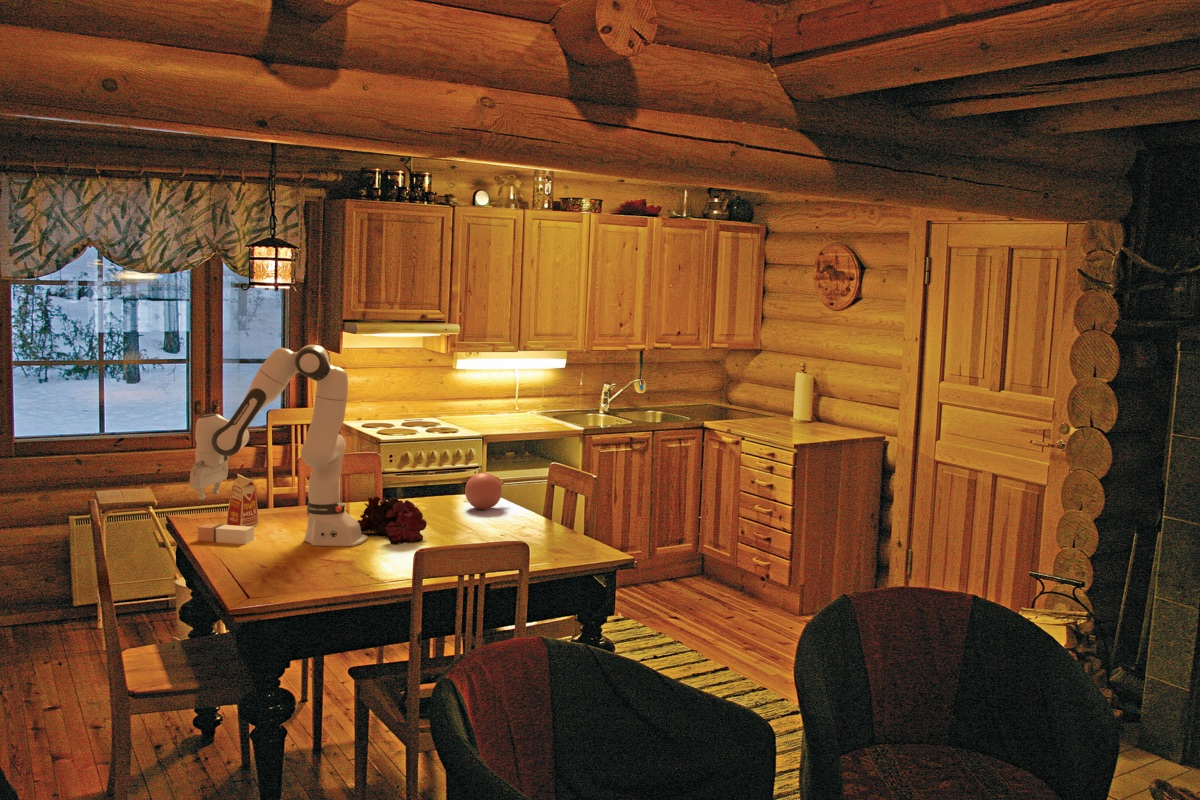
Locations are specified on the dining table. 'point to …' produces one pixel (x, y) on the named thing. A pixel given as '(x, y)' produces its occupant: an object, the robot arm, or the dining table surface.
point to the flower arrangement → (393, 520)
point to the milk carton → (242, 503)
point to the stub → (207, 532)
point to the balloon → (483, 491)
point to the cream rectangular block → (233, 534)
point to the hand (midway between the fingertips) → (208, 496)
